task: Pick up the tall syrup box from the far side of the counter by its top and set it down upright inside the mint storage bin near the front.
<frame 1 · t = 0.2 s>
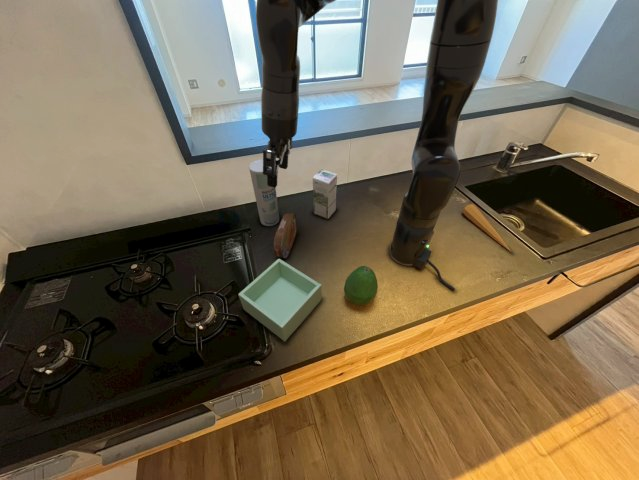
hand: (277, 176, 69), 22 cm above the counter, tool pointing down, fingers open, 8 cm apart
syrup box: (324, 212, 94), on the counter
carrot: (484, 231, 88), on the counter
spray can: (270, 220, 92), on the counter
avocado: (358, 298, 71), on the counter
tin: (287, 245, 84), on the counter
mint storage bin: (282, 304, 69), on the counter
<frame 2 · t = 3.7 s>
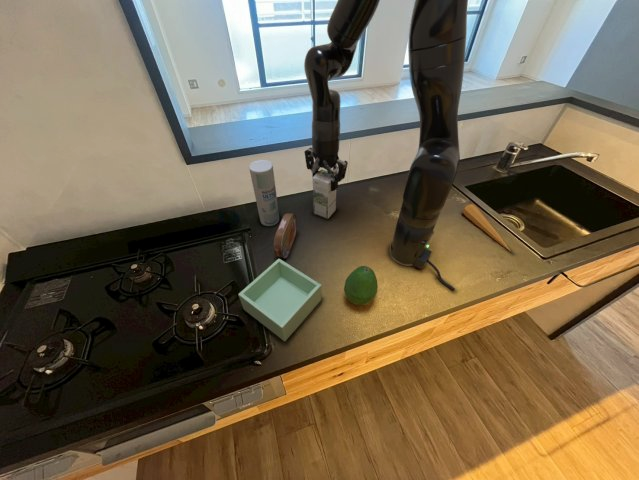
hand: (325, 185, 87), 11 cm above the counter, tool pointing down, fingers closed on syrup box, 6 cm apart
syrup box: (324, 212, 94), on the counter, touching gripper
everything else where it was.
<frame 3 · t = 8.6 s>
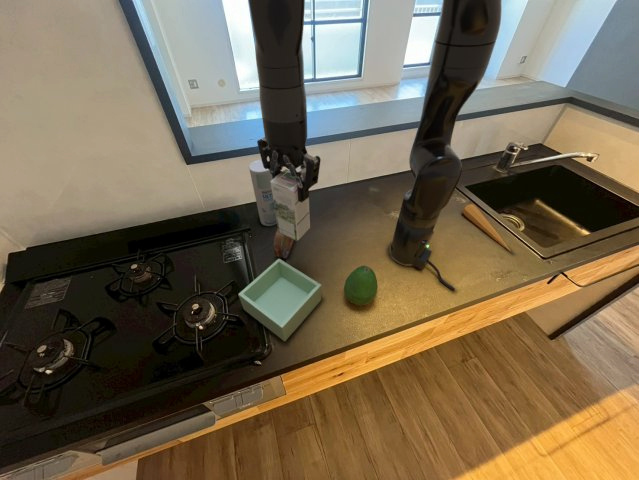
hand: (291, 193, 58), 26 cm above the counter, tool pointing down, fingers closed on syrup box, 6 cm apart
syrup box: (294, 231, 66), point 15 cm above the counter, touching gripper
everything else where it was.
when the fingers open (11 cm above the counter, at t = 13.5 s): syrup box stays where it is, resting on mint storage bin.
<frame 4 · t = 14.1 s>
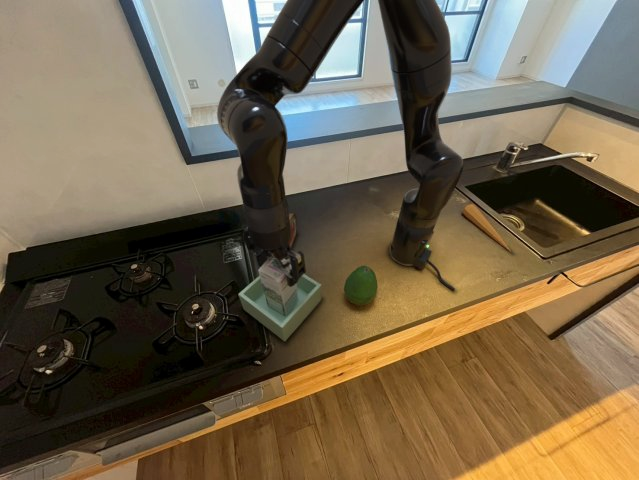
hand: (277, 273, 60), 12 cm above the counter, tool pointing down, fingers open, 8 cm apart
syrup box: (283, 303, 69), resting on mint storage bin
everything else where it was.
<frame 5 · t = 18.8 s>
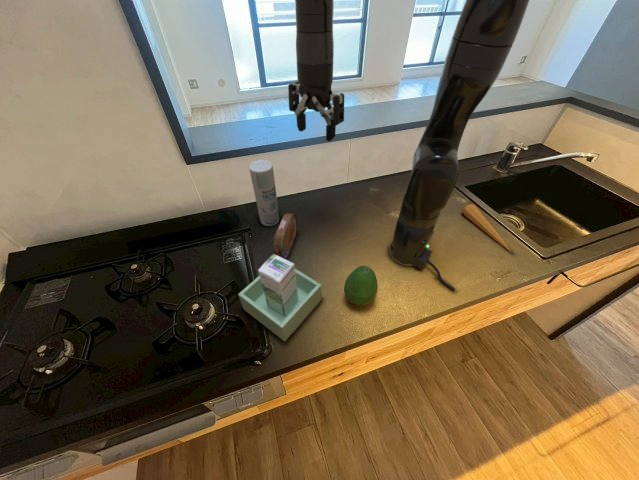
hand: (315, 134, 68), 30 cm above the counter, tool pointing down, fingers open, 8 cm apart
nothing on the counter moved.
at the end: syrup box inside the target area in the mint storage bin (0.1 cm from its centre), point 0.4 cm above the mint storage bin's base; the gripper is holding nothing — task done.
